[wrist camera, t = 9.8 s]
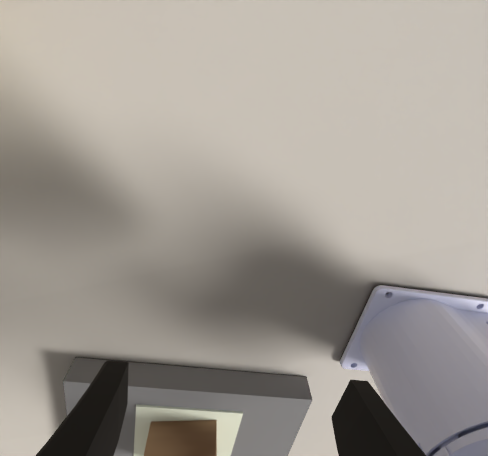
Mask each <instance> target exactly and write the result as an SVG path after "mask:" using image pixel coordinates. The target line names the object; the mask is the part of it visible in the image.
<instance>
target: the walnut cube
mask: <svg viewBox="0 0 488 456" xmlns="http://www.w3.org/2000/svg"><path fill="white" fill-rule="evenodd" d="M144 456H217V420H191V421H151V423H150V428H149V432H148V437H147V442H146V447H145V451H144Z"/></svg>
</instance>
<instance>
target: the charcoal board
mask: <svg viewBox="0 0 488 456" xmlns="http://www.w3.org/2000/svg"><path fill="white" fill-rule="evenodd" d="M106 361H108V360H101V359H89V358H77V357H75V359H74V361H73V363H72V365H71V367H70V369H69V371H68V373H67V375H66V377H65V379H64V381H63V385H64V394H65V403H66V412H67V416H68V415H69V413H70V412H71V411H72V409H73V408H74V407H75V405H76V404H77V402H78V401H79V400H80V398H81V397H82V396H83V394H84V393H85V391H86V390H87V388H88V387H89V386H90V384H91V383H92V381H93V380H94V378H95V377H96V375H97V374H98V372H99V370H100V369H101V367H102V365H103V364H104V363H105V362H106ZM109 361H113V360H109ZM121 362H125V361H121ZM311 402H312V397H311V393H310V389H309V385H308V381H307V377H302V376H290V375H278V374H266V373H255V372H243V371H231V370H219V369H207V368H195V367H184V366H172V365H160V364H148V363H136V362H129V369H128V404H127V408H126V412H125V417H124V421H123V425H122V429H121V433H120V437H119V441H118V444H117V447H116V450H115V453H114V456H144V451H145V447H146V442H147V437H148V432H149V428H150V423H151V421H191V420H217V456H288V454H289V451H290V449H291V447H292V445H293V442H294V440H295V438H296V436H297V433H298V431H299V429H300V427H301V424H302V422H303V420H304V418H305V415H306V413H307V411H308V409H309V406H310V404H311Z"/></svg>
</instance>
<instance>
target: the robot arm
mask: <svg viewBox="0 0 488 456" xmlns="http://www.w3.org/2000/svg"><path fill="white" fill-rule="evenodd" d="M388 292H389V293H388ZM386 293H388V294H386ZM340 364H341V366H342V368H345V369H354V370H365V371H370V373H371V375H372V378H373V380H374V382H375V384H376V386H377V388H378V391H379V393H380V395H381V397H382V399H383V400H382V399H381V398H380V396H379V395H378V394H377V393H376V391H375V390H374V389H373V387H372V386H371V385H370V384H369V382H368V381H359V380H350V382H349V384H348V386H347V388H346V390H345V392H344V394H343V396H342V398H341V400H340V401H339V403H338V405H337V407H336V409H335V411H334V413H333V415H332V423H333V428H334V434H335V440H336V445H337V450H338V454H339V456H488V299H487V298H479V297H471V296H463V295H455V294H447V293H440V292H432V291H424V290H416V289H408V288H400V287H392V286H384V285H379V286H377V287H375V288H374V289H373V291H372V293H371V296H370V298H369V300H368V302H367V304H366V306H365V308H364V311H363V313H362V315H361V317H360V319H359V321H358V324H357V326H356V328H355V330H354V332H353V334H352V336H351V339H350V341H349V343H348V345H347V347H346V349H345V352H344V354H343V356H342V358H341V360H340ZM128 369H129V362H121V361H109V360H108V361H106V362H105V363H104V364H103V365H102V367H101V369H100V370H99V372H98V374H97V375H96V377H95V378H94V380H93V381H92V383H91V384H90V386H89V387H88V388H87V390H86V391H85V393H84V394H83V396H82V397H81V398H80V400H79V401H78V402H77V404H76V405H75V407H74V408H73V409H72V411H71V412H70V413H69V415H68V416H67V417H66V418H65V420H64V421H63V422H62V424H61V425H60V426H59V428H58V429H57V430H56V431H55V433H54V434H53V435H52V437H51V438H50V439H49V440H48V442H47V443H46V444H45V445H44V446H43V448H42V449H41V450H40V451H39V452H38V453H37V455H36V456H114V453H115V450H116V447H117V444H118V441H119V437H120V433H121V429H122V425H123V421H124V417H125V412H126V408H127V404H128ZM383 401H384V402H383Z"/></svg>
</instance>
